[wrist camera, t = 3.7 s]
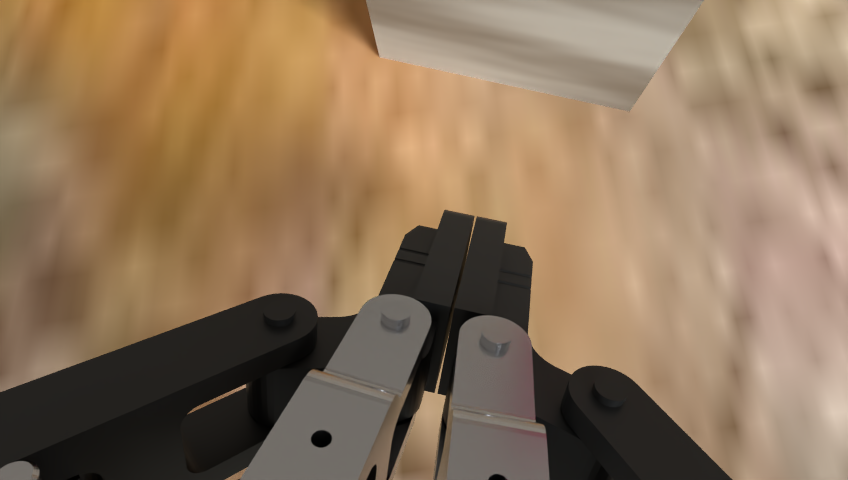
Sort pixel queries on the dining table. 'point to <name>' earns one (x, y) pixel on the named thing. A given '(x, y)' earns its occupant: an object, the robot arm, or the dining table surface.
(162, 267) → the dining table surface
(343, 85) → the dining table surface
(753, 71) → the dining table surface
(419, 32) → the cream block
